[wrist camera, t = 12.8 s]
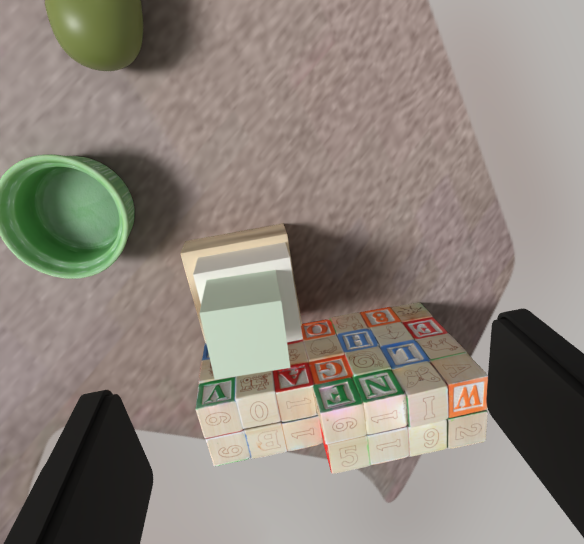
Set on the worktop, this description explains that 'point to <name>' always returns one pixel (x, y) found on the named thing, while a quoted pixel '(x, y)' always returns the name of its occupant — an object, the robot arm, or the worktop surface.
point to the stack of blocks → (351, 394)
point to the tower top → (254, 263)
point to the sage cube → (244, 325)
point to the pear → (98, 31)
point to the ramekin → (65, 214)
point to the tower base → (229, 244)
